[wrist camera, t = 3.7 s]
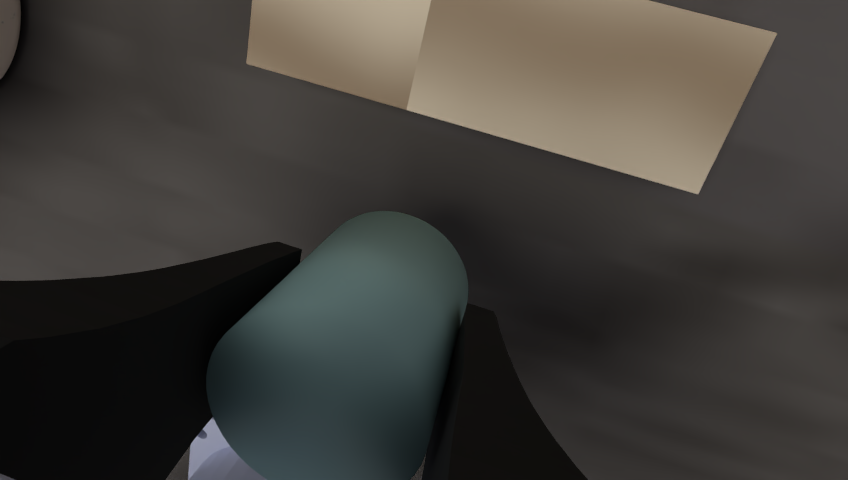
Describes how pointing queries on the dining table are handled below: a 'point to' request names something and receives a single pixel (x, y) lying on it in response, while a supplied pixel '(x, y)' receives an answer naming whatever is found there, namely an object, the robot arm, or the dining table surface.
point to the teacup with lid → (8, 32)
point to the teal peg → (344, 356)
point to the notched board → (533, 71)
